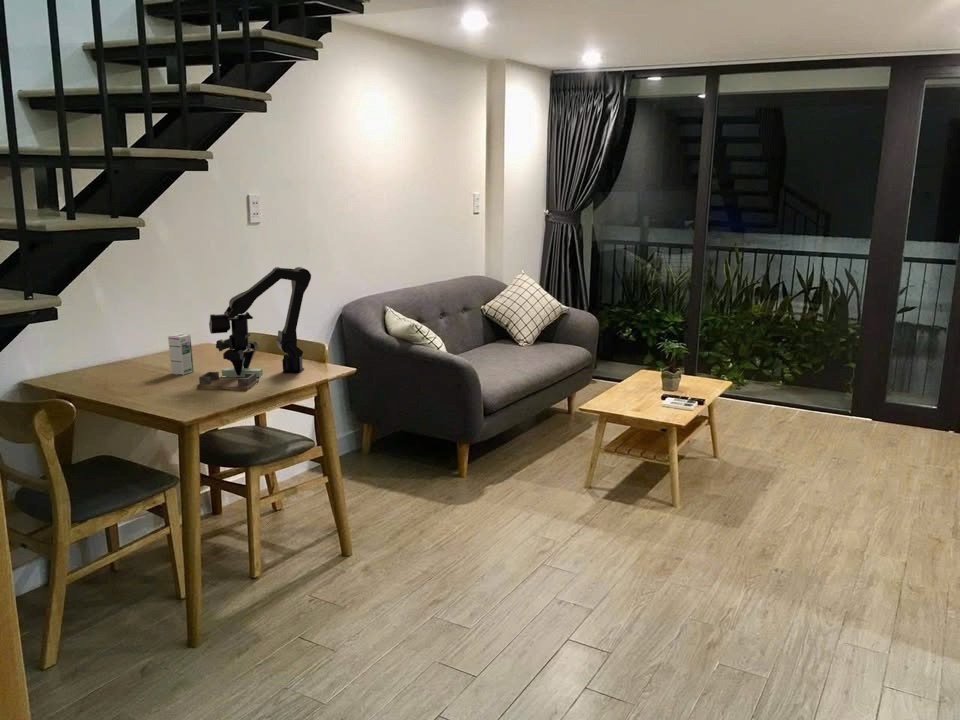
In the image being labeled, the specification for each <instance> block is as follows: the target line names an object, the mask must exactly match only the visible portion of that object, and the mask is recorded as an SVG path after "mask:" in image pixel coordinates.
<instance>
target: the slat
mask: <svg viewBox="0 0 960 720" xmlns="http://www.w3.org/2000/svg"><path fill="white" fill-rule="evenodd" d="M245 373H255V374H256V377H260V378H262V377H263V376H262V375H264V372H263V368H256V367H255V368H254V367H253V368H252V367H251V368H250V367H249V368H244V367H243V368H242V372H241V375H240V376H239V375H237V373H236V371H235V368H234V367H224V368H222V369H221V377H222V376H226V377H225V378H236V377H245ZM261 376H262V377H261Z"/></svg>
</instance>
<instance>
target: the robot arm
mask: <svg viewBox="0 0 960 720" xmlns="http://www.w3.org/2000/svg"><path fill="white" fill-rule="evenodd" d="M311 279H312V274H311V272H310V270H308V269H306V268H304V267H302V266H298V267H295V268H289V267H288V268H287V267H286V268H285V267H279V266H278V267H277V266H275V267H273V269H272V270H271V271H269V272H268V273H267V274H266V275H264V277H262V278H261V279H260V280H258V281H257V282H256V283H255V284H253V285H252V286H251V287H249V288H248V289H247V290H244V291H243V292H241V293H238V294H237V295H235V296H232V297H231V298H230V299H229V301H228V302H229V303H228V306H227V309H225V311H224V312H223V314H221V313H220V314H209V322H208V326H209V333H210V334H212V335H213V334H227V333H228V331H230V330H231V334H230V335H228V337H229V338H225V339H218V340H217V341H216V343H215V349H217V350H218V351H219V352H222V351H224V350H226V349H227V350H226V351H224V352H223V354H222V357H223V360H227V361H229V362H231V364H232V366H233V368H235V371H236V373H237V375H239V376H240V375H241V372H242V368H250V366H251V363H252V360H253V358H254V355H255V353H256V351H257V350H258V349H259V345H258V344H259V343H257V341H250V340H249V337H251V333H250V332H249V327H248V326H249V325H248V320H253V319H254V316H252V315H251V314H250V312H248V310H249V309H250V308H251V307H252V305H253V304H254V302H255V301H256V300H257V299H258V298H260V296H262V295H263V294H264V293H265V292H266V291H268V290H269V289H270V288H271V287H273V286H274V285H275V284H277V282H279V281H280V280H286V281H290V283H291V295H290V298H289V304H288V308H287V314H286V318H285V324H284V327H283V328H282V330H278V331H277V338H276V339H275V341H276V342H277V347H278V348H279V349H280V350H281V351H282V352H283V354H284V355H283V358H282V359H281V361H282V363H281V364H282V373H289V374H291V373H293V374H299V373H301V372H302V371H304V370H305V368H304V367H303V353H304V351H303V350H302V349H300V347H298V344H297V343H298V335H297V328H298V327H297V326H298V322H299V317H300V312H301V309H302V303H303V297H304V295H305V292H306V290H307V288H308V287H309V284H310V282H311Z"/></svg>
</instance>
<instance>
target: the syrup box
mask: <svg viewBox="0 0 960 720" xmlns="http://www.w3.org/2000/svg"><path fill="white" fill-rule="evenodd" d="M191 337H192V336H191V333H184V332H183V333H181V332H180V333H176V334H172V335H168V336H167V340H168V353H169V361H170V372H171V374H173V375H178V374H182V376H184V374H185V375H187V374H191V373H193V372H194V361H193V360H194V359H193V349H192V338H191Z"/></svg>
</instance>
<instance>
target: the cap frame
mask: <svg viewBox="0 0 960 720" xmlns="http://www.w3.org/2000/svg"><path fill="white" fill-rule="evenodd" d="M219 373H220V372H219V371H207V372H206V373H204V374H202V375H200V376H199V379H198V380H199V384H197V385H196V389H197V388H198V389H197V390H199V389H200V390H219V389H230V390H229V391H246V390H248V389H249V388H250V389H251V387H252V386H253V387H255V386H256V385H257V384H259V383H260V380H259V379H260V378H256V374H255V373H245V378H236V377H220V374H219ZM258 382H259V383H258ZM256 383H257V384H256ZM255 384H256V385H255ZM254 385H255V386H254ZM253 387H252V388H253ZM250 389H249V390H250ZM249 390H248V391H249Z"/></svg>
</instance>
